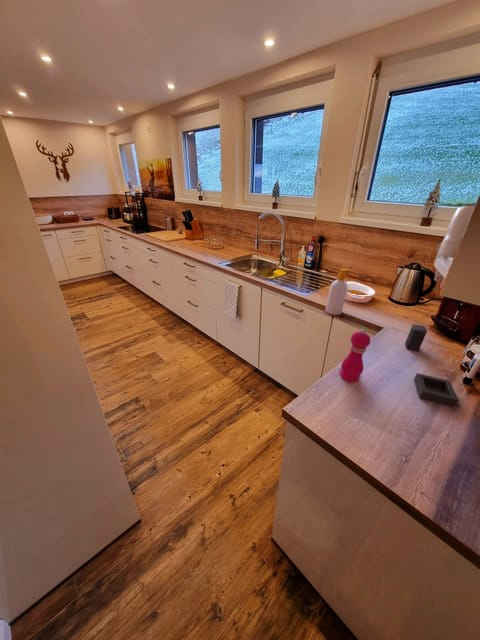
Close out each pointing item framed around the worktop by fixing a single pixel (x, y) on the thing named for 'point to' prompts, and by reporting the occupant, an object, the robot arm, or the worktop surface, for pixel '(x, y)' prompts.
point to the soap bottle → (337, 294)
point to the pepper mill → (355, 357)
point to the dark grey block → (415, 337)
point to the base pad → (435, 390)
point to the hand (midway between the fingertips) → (439, 284)
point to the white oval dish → (361, 288)
